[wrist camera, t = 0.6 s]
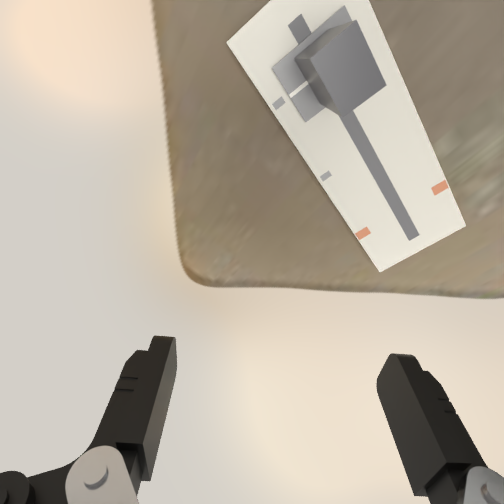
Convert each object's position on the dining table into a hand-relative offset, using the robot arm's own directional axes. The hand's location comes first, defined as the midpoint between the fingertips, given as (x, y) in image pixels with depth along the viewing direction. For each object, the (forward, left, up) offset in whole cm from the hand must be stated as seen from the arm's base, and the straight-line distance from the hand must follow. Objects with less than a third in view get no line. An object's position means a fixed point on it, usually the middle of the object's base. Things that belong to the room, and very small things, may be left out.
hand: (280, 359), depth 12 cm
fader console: (-9, +4, -24) cm, 26 cm away
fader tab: (-9, -4, -21) cm, 23 cm away
